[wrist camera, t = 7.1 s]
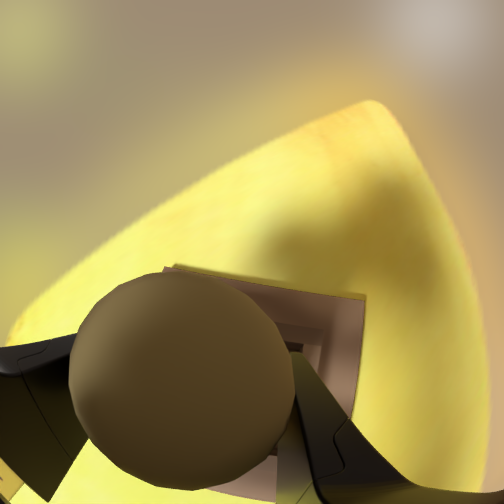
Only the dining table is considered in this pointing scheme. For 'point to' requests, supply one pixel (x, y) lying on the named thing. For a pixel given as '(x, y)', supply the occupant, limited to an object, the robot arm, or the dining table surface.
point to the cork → (181, 380)
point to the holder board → (313, 348)
